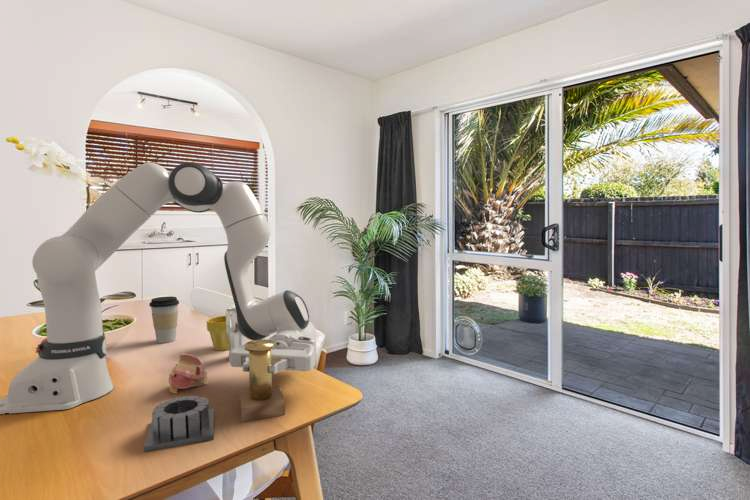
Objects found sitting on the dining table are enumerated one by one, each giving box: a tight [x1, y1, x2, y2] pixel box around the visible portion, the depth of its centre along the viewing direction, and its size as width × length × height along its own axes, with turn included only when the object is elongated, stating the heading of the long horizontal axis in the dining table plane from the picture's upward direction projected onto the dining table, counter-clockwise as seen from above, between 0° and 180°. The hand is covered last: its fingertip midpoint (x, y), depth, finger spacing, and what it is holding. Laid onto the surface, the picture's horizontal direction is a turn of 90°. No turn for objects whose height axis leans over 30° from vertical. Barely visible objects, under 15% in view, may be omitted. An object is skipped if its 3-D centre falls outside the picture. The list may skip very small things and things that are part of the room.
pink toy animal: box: [168, 353, 208, 395], centre depth 107 cm, size 9×10×10 cm
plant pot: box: [206, 315, 229, 351], centre depth 139 cm, size 10×10×10 cm
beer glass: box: [225, 307, 249, 359], centre depth 129 cm, size 7×7×15 cm
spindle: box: [245, 338, 275, 401], centre depth 94 cm, size 6×6×12 cm
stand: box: [238, 385, 286, 422], centre depth 94 cm, size 9×9×3 cm
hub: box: [143, 395, 215, 453], centre depth 85 cm, size 12×12×5 cm
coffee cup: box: [149, 296, 180, 344], centre depth 147 cm, size 9×9×15 cm
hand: (258, 369), depth 93 cm, fingers open, 5 cm apart
